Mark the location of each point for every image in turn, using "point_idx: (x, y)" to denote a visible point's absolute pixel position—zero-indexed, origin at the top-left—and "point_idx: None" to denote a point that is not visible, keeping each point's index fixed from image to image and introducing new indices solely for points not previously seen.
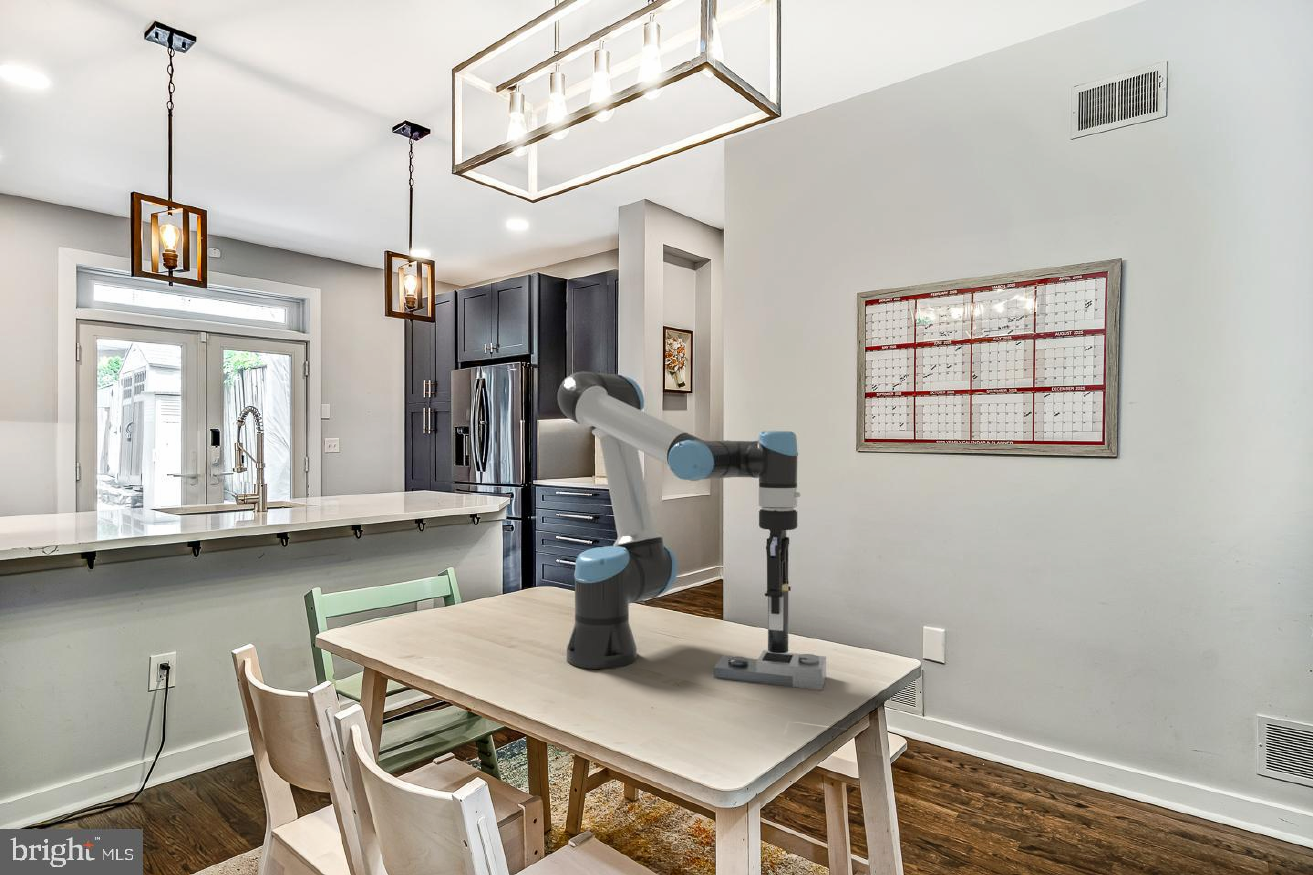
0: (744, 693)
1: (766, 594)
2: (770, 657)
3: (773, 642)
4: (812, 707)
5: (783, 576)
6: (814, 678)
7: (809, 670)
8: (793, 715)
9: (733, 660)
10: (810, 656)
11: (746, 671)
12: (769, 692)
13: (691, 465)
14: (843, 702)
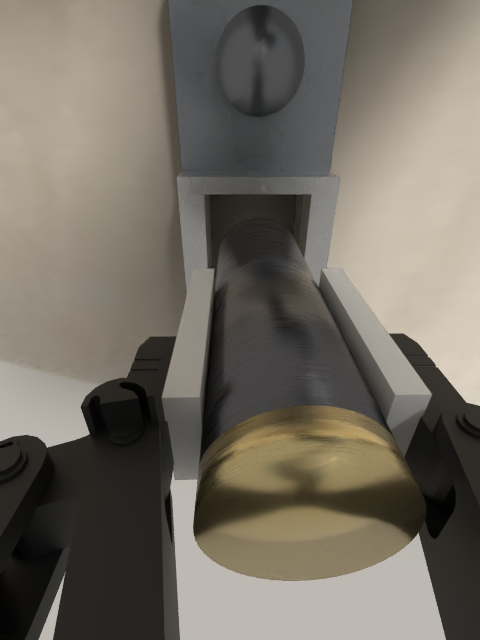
0: (82, 143)
1: (92, 408)
2: (306, 206)
3: (218, 261)
4: (88, 330)
5: (456, 634)
6: None
7: None
8: (14, 299)
9: (239, 43)
10: None
11: (178, 129)
12: (131, 219)
13: None
14: None
